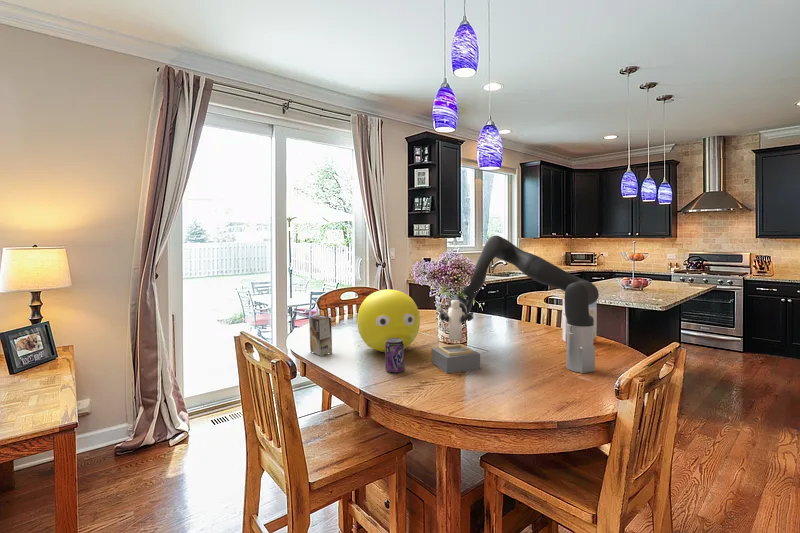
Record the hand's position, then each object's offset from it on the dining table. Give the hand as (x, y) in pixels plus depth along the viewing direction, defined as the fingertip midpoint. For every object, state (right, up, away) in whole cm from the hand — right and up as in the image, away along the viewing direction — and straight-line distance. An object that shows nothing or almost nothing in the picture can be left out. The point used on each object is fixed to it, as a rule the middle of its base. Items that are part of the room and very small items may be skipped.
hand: (454, 319), depth 162 cm
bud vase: (+1, -8, +3) cm, 8 cm away
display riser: (+1, -19, +4) cm, 19 cm away
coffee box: (-56, -18, +25) cm, 64 cm away
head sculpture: (-26, -17, +27) cm, 41 cm away
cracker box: (+63, -15, +37) cm, 75 cm away
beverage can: (-23, -20, -1) cm, 30 cm away
